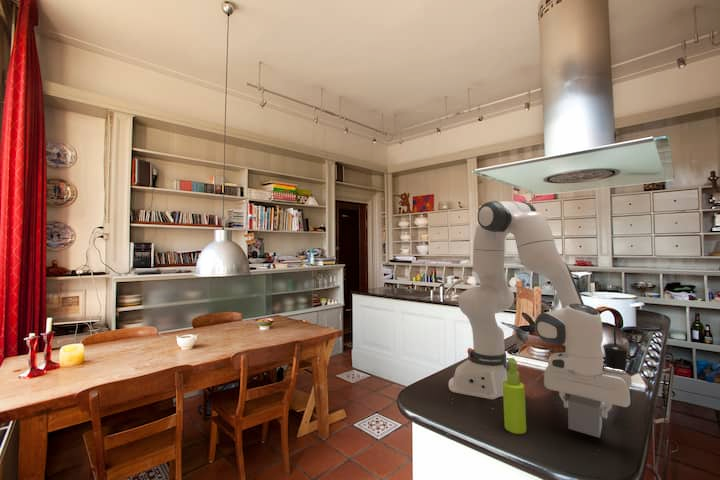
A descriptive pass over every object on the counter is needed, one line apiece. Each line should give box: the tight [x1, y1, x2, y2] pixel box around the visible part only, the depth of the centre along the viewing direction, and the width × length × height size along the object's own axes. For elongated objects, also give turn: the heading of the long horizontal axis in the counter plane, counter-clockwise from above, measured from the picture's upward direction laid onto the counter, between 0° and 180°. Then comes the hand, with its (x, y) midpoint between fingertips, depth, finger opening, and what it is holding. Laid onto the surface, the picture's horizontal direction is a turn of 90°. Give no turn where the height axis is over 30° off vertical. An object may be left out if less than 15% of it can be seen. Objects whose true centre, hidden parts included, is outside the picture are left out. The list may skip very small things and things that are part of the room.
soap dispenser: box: [502, 357, 527, 435], centre depth 102 cm, size 6×7×20 cm
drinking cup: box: [602, 329, 629, 374], centre depth 131 cm, size 8×8×20 cm
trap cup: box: [567, 394, 603, 439], centre depth 96 cm, size 7×7×8 cm
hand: (585, 412), depth 96 cm, fingers closed on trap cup, 7 cm apart
